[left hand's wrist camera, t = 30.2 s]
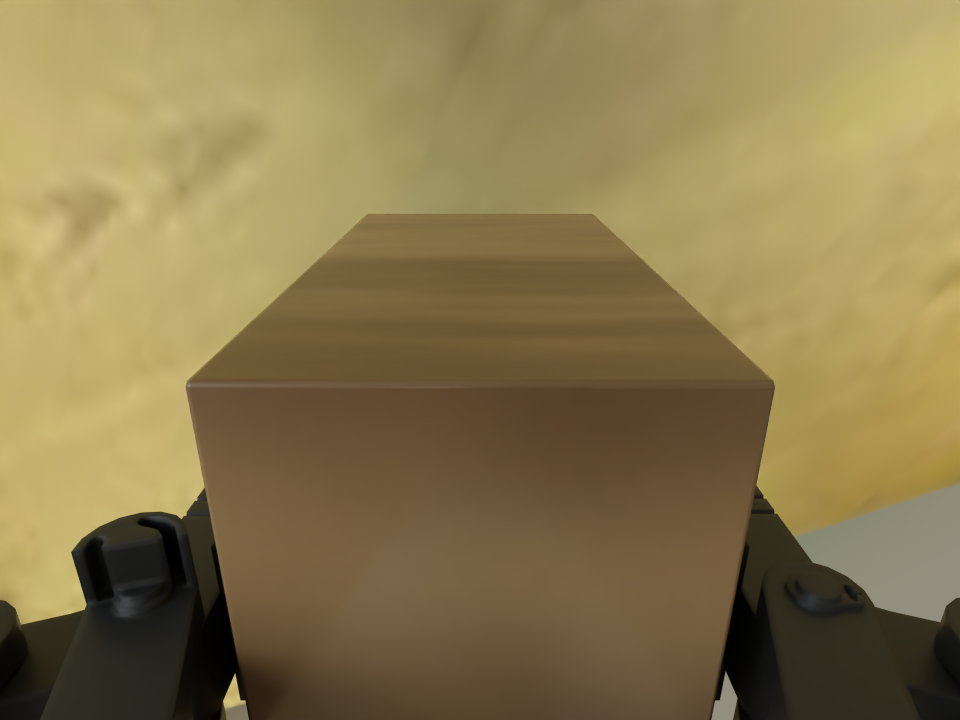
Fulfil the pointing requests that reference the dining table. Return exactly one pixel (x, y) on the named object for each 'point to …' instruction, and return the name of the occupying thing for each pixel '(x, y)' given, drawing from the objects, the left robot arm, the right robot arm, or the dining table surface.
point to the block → (480, 479)
